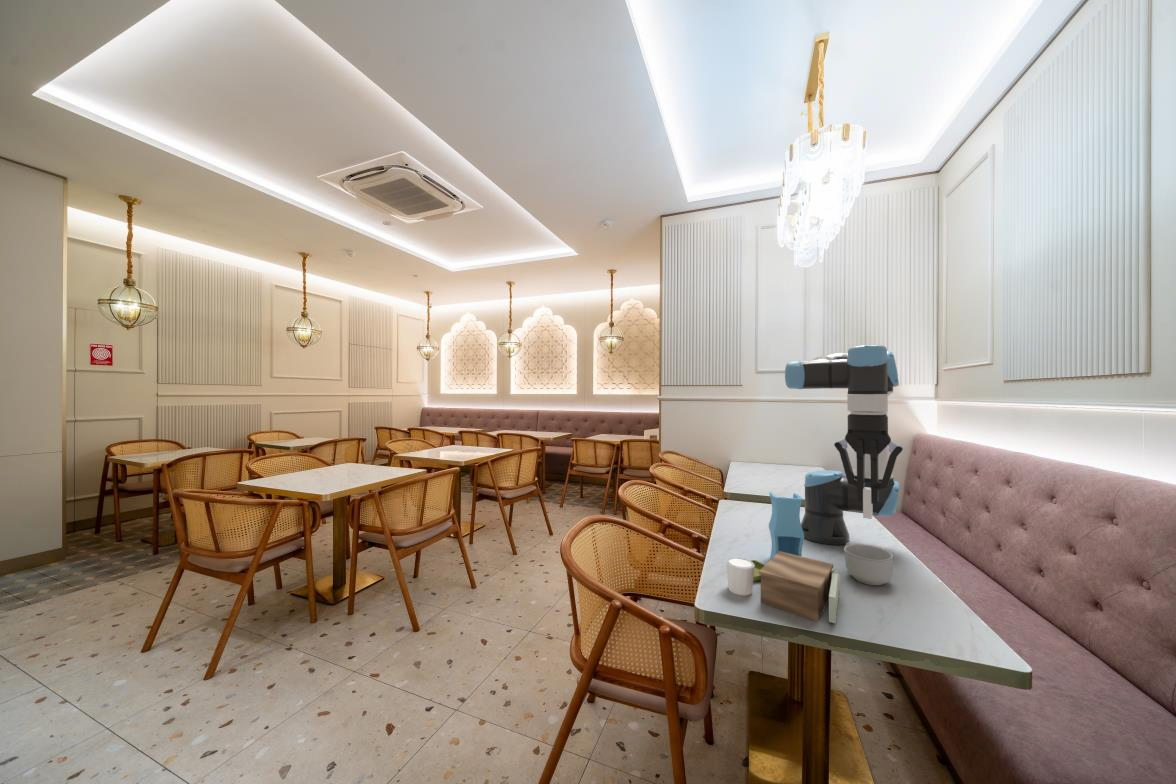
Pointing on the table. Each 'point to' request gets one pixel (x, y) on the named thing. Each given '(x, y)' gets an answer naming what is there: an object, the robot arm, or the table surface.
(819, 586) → the wood grain block
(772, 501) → the blue tall holder
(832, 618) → the door
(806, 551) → the table surface
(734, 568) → the white short cylinder
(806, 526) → the robot arm
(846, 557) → the grey oval bowl
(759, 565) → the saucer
